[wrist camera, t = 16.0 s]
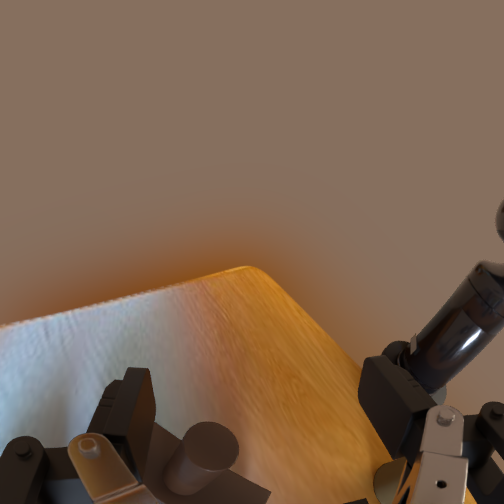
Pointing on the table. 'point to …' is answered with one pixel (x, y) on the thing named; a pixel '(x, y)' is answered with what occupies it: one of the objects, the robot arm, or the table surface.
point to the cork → (388, 480)
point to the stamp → (198, 468)
